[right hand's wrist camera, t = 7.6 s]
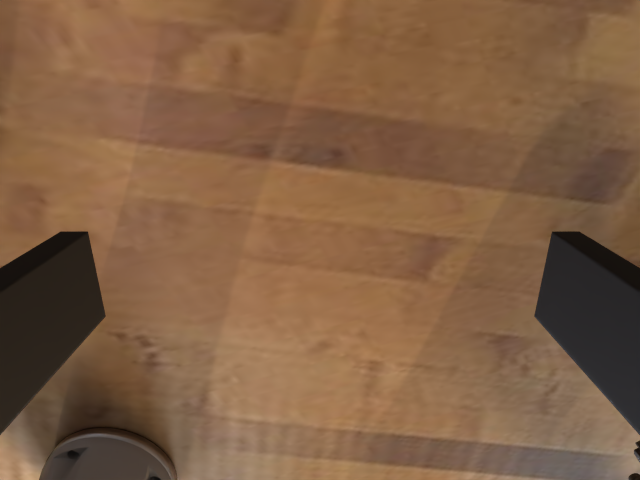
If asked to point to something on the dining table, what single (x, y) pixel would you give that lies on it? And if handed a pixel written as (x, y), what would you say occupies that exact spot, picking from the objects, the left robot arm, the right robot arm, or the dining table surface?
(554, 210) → the dining table surface
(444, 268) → the dining table surface
